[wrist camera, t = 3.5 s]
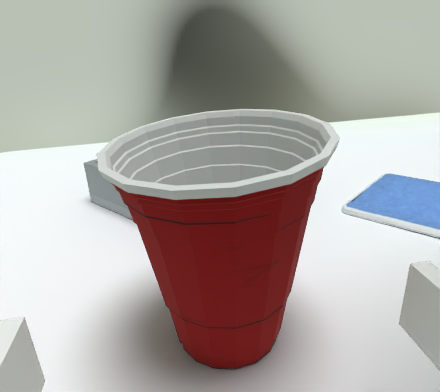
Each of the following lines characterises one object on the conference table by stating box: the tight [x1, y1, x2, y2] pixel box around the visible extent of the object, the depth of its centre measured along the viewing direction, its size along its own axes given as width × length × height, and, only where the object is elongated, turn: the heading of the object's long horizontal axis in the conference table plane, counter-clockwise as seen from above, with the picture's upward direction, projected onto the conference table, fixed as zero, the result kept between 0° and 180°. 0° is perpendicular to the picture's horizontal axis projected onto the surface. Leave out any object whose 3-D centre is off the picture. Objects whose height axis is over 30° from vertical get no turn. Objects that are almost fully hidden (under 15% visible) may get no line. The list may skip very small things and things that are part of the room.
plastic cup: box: [97, 109, 340, 369], centre depth 19 cm, size 11×11×12 cm
